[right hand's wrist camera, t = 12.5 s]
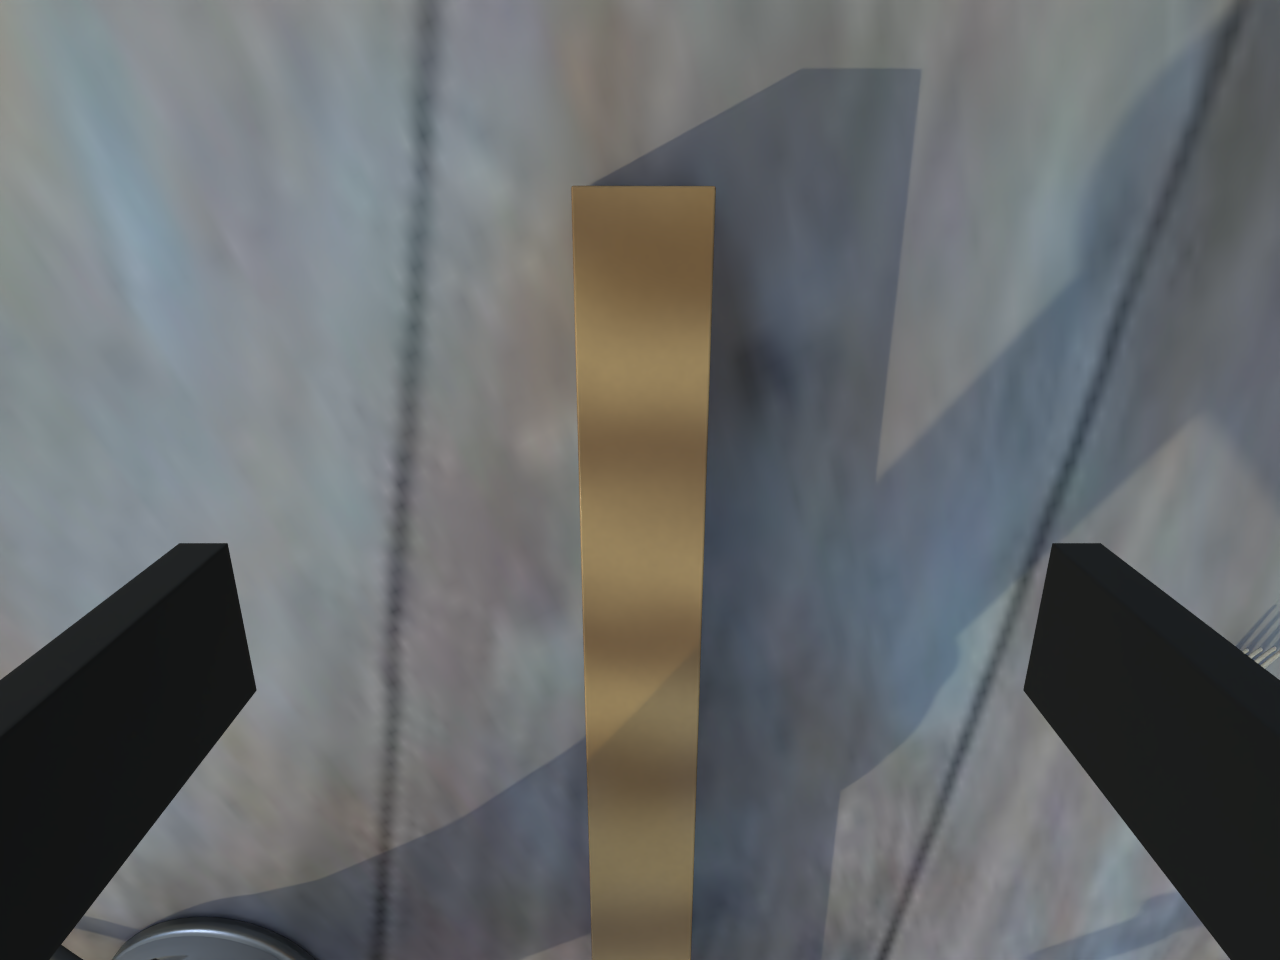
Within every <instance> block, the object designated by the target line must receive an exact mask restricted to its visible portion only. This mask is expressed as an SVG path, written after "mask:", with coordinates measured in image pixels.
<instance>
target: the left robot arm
mask: <svg viewBox="0 0 1280 960" xmlns="http://www.w3.org/2000/svg"><path fill="white" fill-rule="evenodd" d="M50 960H83V959H81V958H80V957H78V956H77V955H75V954H74V953H72V952H71V951H69V950H68V949H67V948H65V947H64V946H62V945H60V947H59V948H58V949H57V950H56V952H55V953H54V954H53V956H52V957H51V958H50ZM112 960H315V959H314V958H313V957H312V956H311V955H309V954H308V953H307V952H306V951H305V950H303V949H302V948H301V947H299V946H298V945H296V944H295V943H293V942H292V941H290V940H288V939H287V938H285V937H283V936H281V935H279V934H277V933H275V932H272V931H270V930H268V929H265V928H262V927H260V926H257V925H254V924H250V923H246V922H243V921H238V920H233V919H226V918H218V917H190V918H181V919H175V920H170V921H166V922H162V923H159V924H157V925H154V926H151V927H149V928H147V929H145V930H143V931H141V932H139V933H138V934H136V935H135V936H133V937H132V938H131V939H129V940H128V941H127V942H126V943H125V944H124V945H123V946H122V947H121V948H120V949H119V951H118V952H117V953H116V955H115V956H114V958H113V959H112Z"/></svg>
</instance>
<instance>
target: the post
mask: <svg viewBox="0 0 1280 960" xmlns="http://www.w3.org/2000/svg"><path fill="white" fill-rule="evenodd" d="M571 194H572V231H573V268H574V306H575V343H576V380H577V417H578V455H579V492H580V529H581V566H582V604H583V641H584V678H585V715H586V753H587V790H588V827H589V864H590V902H591V939H592V960H691V936H692V905H693V874H694V843H695V812H696V781H697V751H698V720H699V689H700V658H701V627H702V596H703V566H704V535H705V504H706V473H707V442H708V411H709V381H710V350H711V319H712V288H713V257H714V226H715V195H716V188H715V186H572V188H571Z"/></svg>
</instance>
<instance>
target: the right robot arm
mask: <svg viewBox="0 0 1280 960" xmlns="http://www.w3.org/2000/svg"><path fill="white" fill-rule="evenodd" d="M255 692H256V685H255V680H254V675H253V670H252V665H251V660H250V655H249V650H248V645H247V639H246V634H245V629H244V624H243V619H242V614H241V609H240V604H239V599H238V594H237V589H236V584H235V579H234V574H233V568H232V563H231V558H230V553H229V548H228V543H179V544H178V545H177V546H175V547H174V548H173V549H171V550H170V551H169V552H168V553H166V554H165V555H164V556H162V557H161V558H160V559H158V560H157V561H156V562H154V563H153V564H152V565H151V566H149V567H148V568H147V569H145V570H144V571H143V572H141V573H140V574H139V575H137V576H136V577H135V578H134V579H132V580H131V581H130V582H128V583H127V584H126V585H124V586H123V587H122V588H120V589H119V590H118V591H116V592H115V593H114V594H113V595H111V596H110V597H109V598H107V599H106V600H105V601H103V602H102V603H101V604H99V605H98V606H97V607H96V608H94V609H93V610H92V611H90V612H89V613H88V614H86V615H85V616H84V617H82V618H81V619H80V620H79V621H77V622H76V623H75V624H73V625H72V626H71V627H69V628H68V629H67V630H65V631H64V632H63V633H62V634H60V635H59V636H58V637H56V638H55V639H54V640H52V641H51V642H50V643H48V644H47V645H46V646H45V647H43V648H42V649H41V650H39V651H38V652H37V653H35V654H34V655H33V656H31V657H30V658H29V659H28V660H26V661H25V662H24V663H22V664H21V665H20V666H18V667H17V668H16V669H14V670H13V671H12V672H10V673H9V674H8V675H7V676H5V677H4V678H3V679H1V680H0V960H50V958H51V957H52V956H53V954H54V953H55V952H56V950H57V949H58V948H59V947H60V945H61V944H62V943H63V941H64V940H65V939H66V937H67V936H68V935H69V934H70V932H71V931H72V930H73V928H74V927H75V926H76V924H77V923H78V922H79V921H80V919H81V918H82V917H83V915H84V914H85V913H86V911H87V910H88V909H89V907H90V906H91V905H92V904H93V902H94V901H95V900H96V898H97V897H98V896H99V894H100V893H101V892H102V891H103V889H104V888H105V887H106V885H107V884H108V883H109V881H110V880H111V879H112V878H113V876H114V875H115V874H116V872H117V871H118V870H119V868H120V867H121V866H122V865H123V863H124V862H125V861H126V859H127V858H128V857H129V855H130V854H131V853H132V852H133V850H134V849H135V848H136V846H137V845H138V844H139V842H140V841H141V840H142V839H143V837H144V836H145V835H146V833H147V832H148V831H149V829H150V828H151V827H152V826H153V824H154V823H155V822H156V820H157V819H158V818H159V816H160V815H161V814H162V813H163V811H164V810H165V809H166V807H167V806H168V805H169V803H170V802H171V801H172V800H173V798H174V797H175V796H176V794H177V793H178V792H179V790H180V789H181V788H182V787H183V785H184V784H185V783H186V781H187V780H188V779H189V777H190V776H191V775H192V774H193V772H194V771H195V770H196V768H197V767H198V766H199V764H200V763H201V762H202V761H203V759H204V758H205V757H206V755H207V754H208V753H209V751H210V750H211V749H212V748H213V746H214V745H215V744H216V742H217V741H218V740H219V738H220V737H221V736H222V735H223V733H224V732H225V731H226V729H227V728H228V727H229V725H230V724H231V723H232V721H233V720H234V719H235V718H236V716H237V715H238V714H239V712H240V711H241V710H242V708H243V707H244V706H245V705H246V703H247V702H248V701H249V699H250V698H251V697H252V695H253V694H254V693H255ZM1024 692H1025V693H1026V694H1027V695H1028V697H1029V698H1030V699H1031V701H1032V702H1033V703H1034V705H1035V706H1036V707H1037V708H1038V710H1039V711H1040V712H1041V714H1042V715H1043V716H1044V718H1045V719H1046V720H1047V722H1048V723H1049V724H1050V725H1051V727H1052V728H1053V729H1054V731H1055V732H1056V733H1057V735H1058V736H1059V737H1060V738H1061V740H1062V741H1063V742H1064V744H1065V745H1066V746H1067V748H1068V749H1069V750H1070V751H1071V753H1072V754H1073V755H1074V757H1075V758H1076V759H1077V761H1078V762H1079V763H1080V764H1081V766H1082V767H1083V768H1084V770H1085V771H1086V772H1087V774H1088V775H1089V776H1090V777H1091V779H1092V780H1093V781H1094V783H1095V784H1096V785H1097V787H1098V788H1099V789H1100V790H1101V792H1102V793H1103V794H1104V796H1105V797H1106V798H1107V800H1108V801H1109V802H1110V803H1111V805H1112V806H1113V807H1114V809H1115V810H1116V811H1117V813H1118V814H1119V815H1120V816H1121V818H1122V819H1123V820H1124V822H1125V823H1126V824H1127V826H1128V827H1129V828H1130V829H1131V831H1132V832H1133V833H1134V835H1135V836H1136V837H1137V839H1138V840H1139V841H1140V842H1141V844H1142V845H1143V846H1144V848H1145V849H1146V850H1147V852H1148V853H1149V854H1150V855H1151V857H1152V858H1153V859H1154V861H1155V862H1156V863H1157V865H1158V866H1159V867H1160V868H1161V870H1162V871H1163V872H1164V874H1165V875H1166V876H1167V878H1168V879H1169V880H1170V881H1171V883H1172V884H1173V885H1174V887H1175V888H1176V889H1177V891H1178V892H1179V893H1180V894H1181V896H1182V897H1183V898H1184V900H1185V901H1186V902H1187V904H1188V905H1189V906H1190V908H1191V909H1192V910H1193V911H1194V913H1195V914H1196V915H1197V917H1198V918H1199V919H1200V921H1201V922H1202V923H1203V924H1204V926H1205V927H1206V928H1207V930H1208V931H1209V932H1210V934H1211V935H1212V936H1213V937H1214V939H1215V940H1216V941H1217V943H1218V944H1219V945H1220V947H1221V948H1222V949H1223V950H1224V952H1225V953H1226V954H1227V956H1228V957H1229V958H1230V960H1280V680H1279V679H1277V678H1276V677H1275V676H1273V675H1272V674H1271V673H1270V672H1268V671H1267V670H1266V669H1264V668H1263V667H1262V666H1260V665H1259V664H1258V663H1256V662H1255V661H1254V660H1252V659H1251V658H1250V657H1249V656H1247V655H1246V654H1245V653H1243V652H1242V651H1241V650H1239V649H1238V648H1237V647H1235V646H1234V645H1233V644H1232V643H1230V642H1229V641H1228V640H1226V639H1225V638H1224V637H1222V636H1221V635H1220V634H1218V633H1217V632H1216V631H1215V630H1213V629H1212V628H1211V627H1209V626H1208V625H1207V624H1205V623H1204V622H1203V621H1201V620H1200V619H1199V618H1198V617H1196V616H1195V615H1194V614H1192V613H1191V612H1190V611H1188V610H1187V609H1186V608H1184V607H1183V606H1182V605H1181V604H1179V603H1178V602H1177V601H1175V600H1174V599H1173V598H1171V597H1170V596H1169V595H1167V594H1166V593H1165V592H1164V591H1162V590H1161V589H1160V588H1158V587H1157V586H1156V585H1154V584H1153V583H1152V582H1150V581H1149V580H1148V579H1146V578H1145V577H1144V576H1143V575H1141V574H1140V573H1139V572H1137V571H1136V570H1135V569H1133V568H1132V567H1131V566H1129V565H1128V564H1127V563H1126V562H1124V561H1123V560H1122V559H1120V558H1119V557H1118V556H1116V555H1115V554H1114V553H1112V552H1111V551H1110V550H1109V549H1107V548H1106V547H1105V546H1103V545H1102V544H1101V543H1052V548H1051V553H1050V558H1049V563H1048V568H1047V574H1046V579H1045V584H1044V589H1043V594H1042V599H1041V604H1040V609H1039V614H1038V619H1037V624H1036V629H1035V634H1034V639H1033V645H1032V650H1031V655H1030V660H1029V665H1028V670H1027V675H1026V680H1025V685H1024Z"/></svg>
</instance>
